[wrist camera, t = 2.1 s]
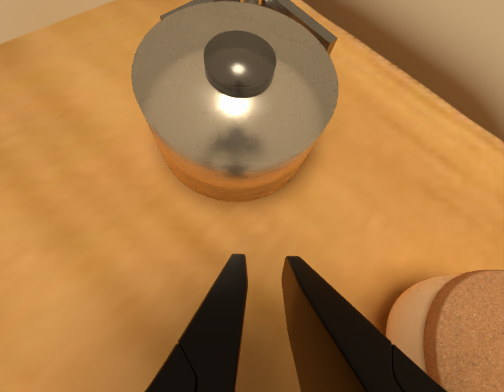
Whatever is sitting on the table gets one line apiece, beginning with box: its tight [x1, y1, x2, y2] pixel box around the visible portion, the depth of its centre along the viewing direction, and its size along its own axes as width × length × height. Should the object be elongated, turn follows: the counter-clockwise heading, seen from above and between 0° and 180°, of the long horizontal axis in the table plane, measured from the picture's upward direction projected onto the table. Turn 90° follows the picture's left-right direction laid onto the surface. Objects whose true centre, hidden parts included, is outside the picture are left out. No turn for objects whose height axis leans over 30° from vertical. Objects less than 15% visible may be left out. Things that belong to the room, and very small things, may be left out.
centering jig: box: [160, 0, 337, 55], centre depth 27 cm, size 12×17×7 cm
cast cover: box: [131, 1, 338, 202], centre depth 21 cm, size 15×15×9 cm
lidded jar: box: [386, 270, 504, 392], centre depth 16 cm, size 11×11×9 cm
